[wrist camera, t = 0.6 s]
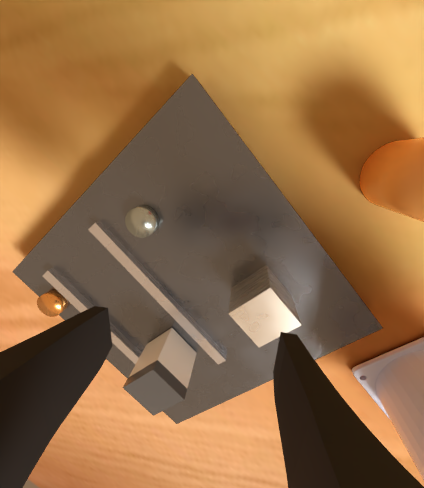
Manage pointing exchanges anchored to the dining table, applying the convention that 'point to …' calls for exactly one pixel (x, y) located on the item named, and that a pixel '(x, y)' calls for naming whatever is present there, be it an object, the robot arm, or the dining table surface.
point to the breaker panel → (195, 257)
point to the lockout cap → (396, 177)
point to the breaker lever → (162, 372)
